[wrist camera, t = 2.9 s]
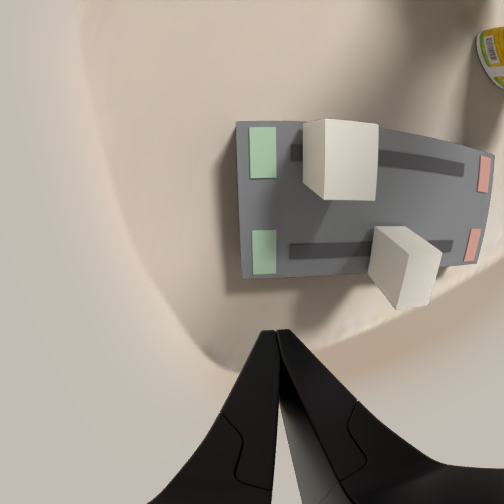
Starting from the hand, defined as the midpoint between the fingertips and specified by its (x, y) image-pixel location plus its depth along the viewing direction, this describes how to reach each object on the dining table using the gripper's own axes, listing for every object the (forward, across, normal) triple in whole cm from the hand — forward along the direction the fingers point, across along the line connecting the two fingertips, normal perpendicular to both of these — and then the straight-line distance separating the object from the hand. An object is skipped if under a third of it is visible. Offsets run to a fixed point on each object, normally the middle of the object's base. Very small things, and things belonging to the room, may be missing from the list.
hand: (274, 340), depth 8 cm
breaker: (+7, -3, -5) cm, 9 cm away
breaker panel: (+9, -7, -2) cm, 12 cm away
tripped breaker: (+6, -7, 0) cm, 9 cm away
